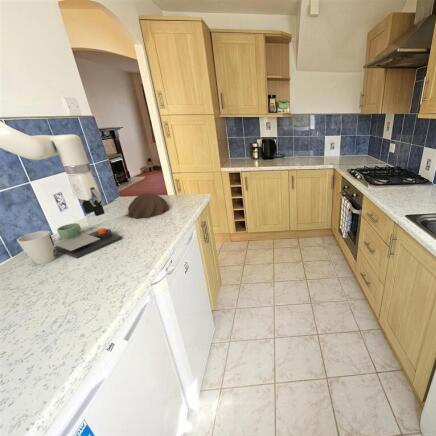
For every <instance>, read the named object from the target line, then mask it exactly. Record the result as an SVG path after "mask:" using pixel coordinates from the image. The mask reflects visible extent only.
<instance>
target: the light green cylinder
mask: <svg viewBox="0 0 436 436" xmlns="http://www.w3.org/2000/svg"><path fill="white" fill-rule="evenodd" d="M81 227H82V226H81V224H80V223H79V222H76V223H75V222H73V223H68V224H65V225H61V226H59V227H58V228H57V229H56V231H57V233H58V235H59V238H60V240H61V241H63V240H66V239H69V238H71V237H74V236H77V235H80V234H82V233H84V232H83V230H82V228H81Z"/></svg>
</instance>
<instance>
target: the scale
mask: <svg viewBox="0 0 436 436" xmlns="http://www.w3.org/2000/svg"><path fill="white" fill-rule="evenodd" d="M106 231H107V232H106V233H104V234H98V232H97V230H96V231H93V232H91V233H87V234H88V235H91V236H94V237H97V238H100V239H99V240H97V241H94V242H92V243H89V244H87V245H84V246H82V247H79V248H77V249H74V250H72V251H68V250H66V249H63V248H61V247H58V246H56V245H54V246H55V250H56V251H59V252H60V253H63V254H66V255H68V256H71V257H73V258H75V259H80V258H82V257H85V256H88V255H90V254H92V253H94V252H97V251H98V250H101V249H103V248H105V247H108V246H111V245H112V244H115V243H118V242H119V241H121V240H123V238H122V236H121V235H118V234H115V233H113V232H112V229H109V228H106Z"/></svg>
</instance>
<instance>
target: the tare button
mask: <svg viewBox="0 0 436 436" xmlns="http://www.w3.org/2000/svg"><path fill="white" fill-rule="evenodd" d="M106 229H107V228H105V227H102V228H99V229H97V230H96V231H97V232H98V234H104V233H106V232H107V231H106Z"/></svg>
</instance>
